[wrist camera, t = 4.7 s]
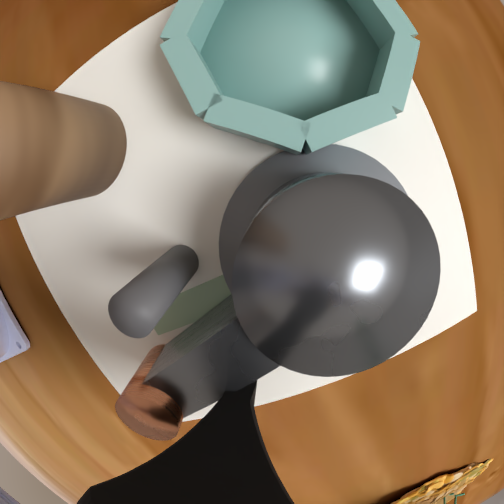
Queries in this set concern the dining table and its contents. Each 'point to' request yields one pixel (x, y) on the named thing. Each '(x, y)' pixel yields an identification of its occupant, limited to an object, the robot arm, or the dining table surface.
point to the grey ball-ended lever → (299, 299)
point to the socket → (292, 66)
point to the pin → (55, 148)
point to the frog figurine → (444, 486)
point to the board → (209, 213)
